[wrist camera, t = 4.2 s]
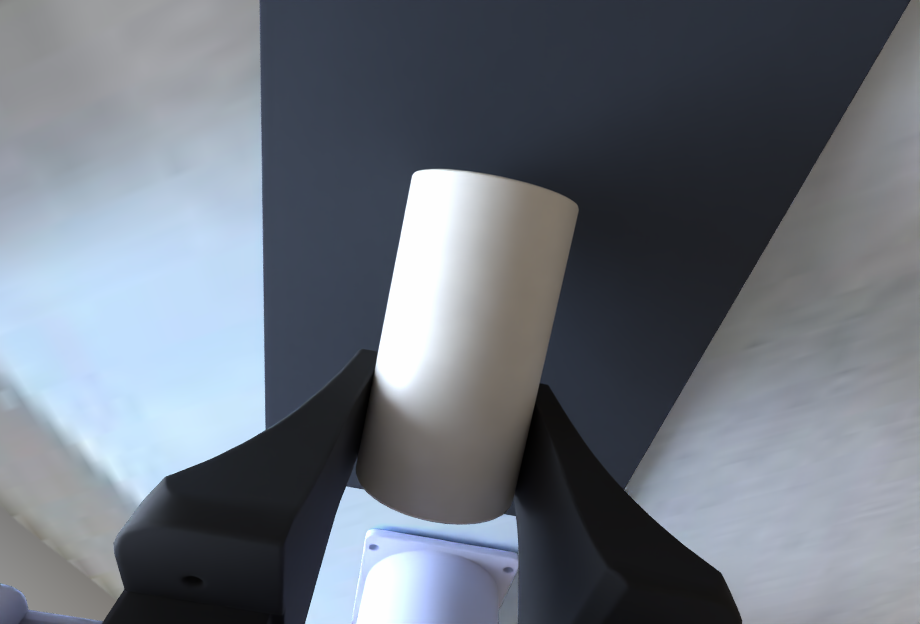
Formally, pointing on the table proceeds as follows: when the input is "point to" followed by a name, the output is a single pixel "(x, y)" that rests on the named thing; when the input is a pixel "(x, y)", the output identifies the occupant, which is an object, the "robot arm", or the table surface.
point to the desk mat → (548, 169)
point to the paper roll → (463, 344)
